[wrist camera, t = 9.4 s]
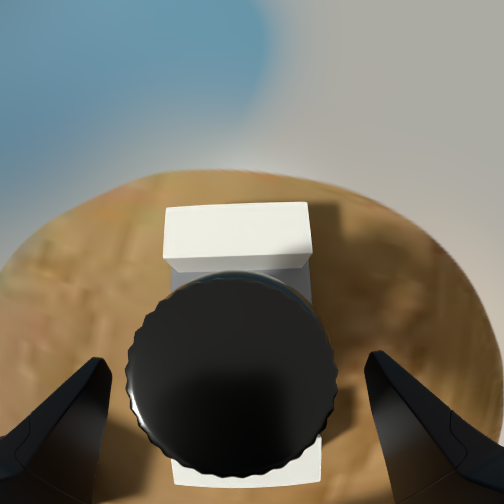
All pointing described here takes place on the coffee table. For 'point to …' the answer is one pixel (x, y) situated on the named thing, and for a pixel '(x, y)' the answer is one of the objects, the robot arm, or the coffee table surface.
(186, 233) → the rail plate
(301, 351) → the supplement bottle
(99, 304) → the coffee table surface
